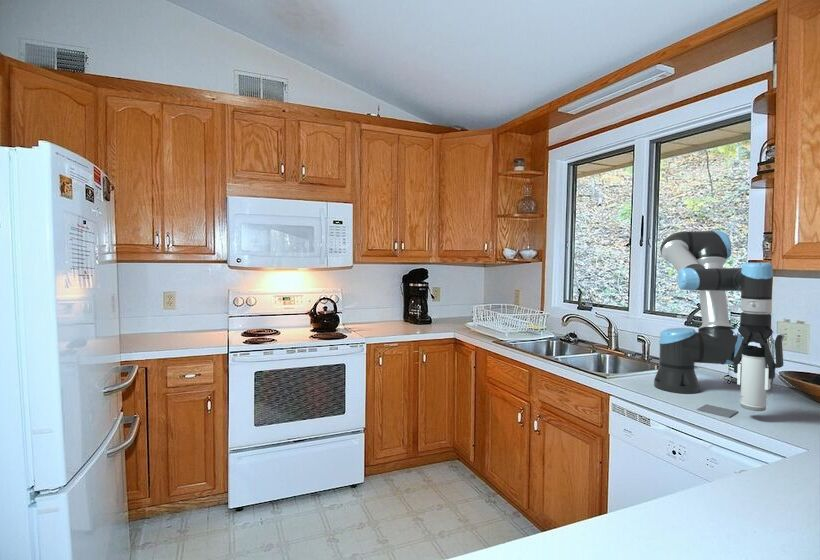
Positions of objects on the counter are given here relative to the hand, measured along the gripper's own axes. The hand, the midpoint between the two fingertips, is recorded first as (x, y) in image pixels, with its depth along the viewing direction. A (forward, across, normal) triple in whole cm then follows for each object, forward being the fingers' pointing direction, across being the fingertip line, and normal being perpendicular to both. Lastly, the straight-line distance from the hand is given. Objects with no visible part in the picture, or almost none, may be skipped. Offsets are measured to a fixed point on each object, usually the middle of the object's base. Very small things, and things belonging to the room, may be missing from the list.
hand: (753, 386), depth 135 cm
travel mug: (+7, 0, 0) cm, 7 cm away
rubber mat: (+10, -9, 0) cm, 14 cm away
